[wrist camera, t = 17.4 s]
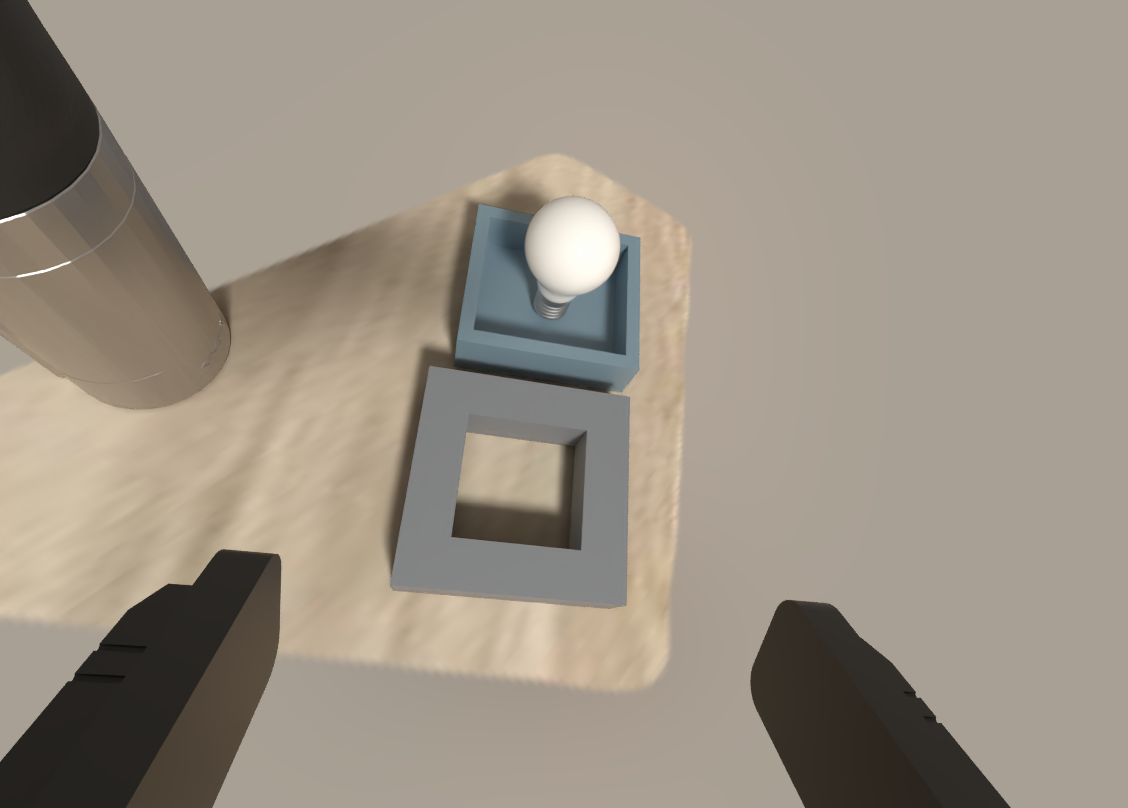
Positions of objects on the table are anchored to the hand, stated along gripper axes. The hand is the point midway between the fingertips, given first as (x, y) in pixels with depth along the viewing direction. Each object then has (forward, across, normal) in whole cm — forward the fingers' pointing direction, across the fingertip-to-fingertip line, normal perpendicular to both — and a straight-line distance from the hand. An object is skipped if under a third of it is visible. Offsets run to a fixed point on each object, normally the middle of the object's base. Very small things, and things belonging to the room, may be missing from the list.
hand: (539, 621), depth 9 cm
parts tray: (+37, -4, +3) cm, 38 cm away
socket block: (+27, -3, +13) cm, 30 cm away
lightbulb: (+37, -4, +3) cm, 37 cm away
